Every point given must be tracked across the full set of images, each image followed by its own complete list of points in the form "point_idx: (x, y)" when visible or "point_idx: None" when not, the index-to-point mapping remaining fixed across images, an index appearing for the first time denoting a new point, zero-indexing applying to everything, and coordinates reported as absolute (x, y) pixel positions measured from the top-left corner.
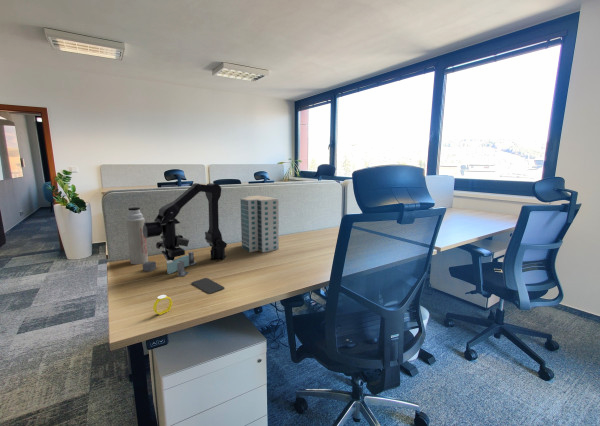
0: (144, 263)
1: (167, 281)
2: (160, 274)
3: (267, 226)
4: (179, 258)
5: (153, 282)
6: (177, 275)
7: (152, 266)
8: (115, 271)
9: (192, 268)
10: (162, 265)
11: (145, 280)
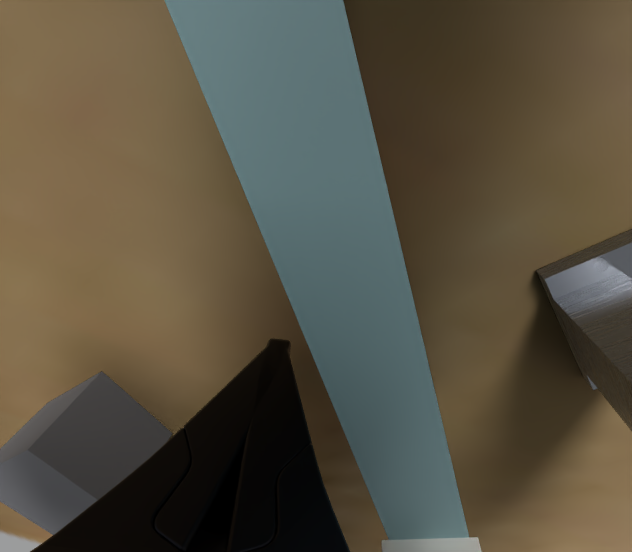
0: (46, 525)
1: (596, 489)
2: (335, 433)
3: None
4: (363, 329)
5: (477, 536)
6: (593, 383)
7: (122, 457)
8: (18, 528)
9: (558, 3)
10: (29, 287)
11: (370, 536)
